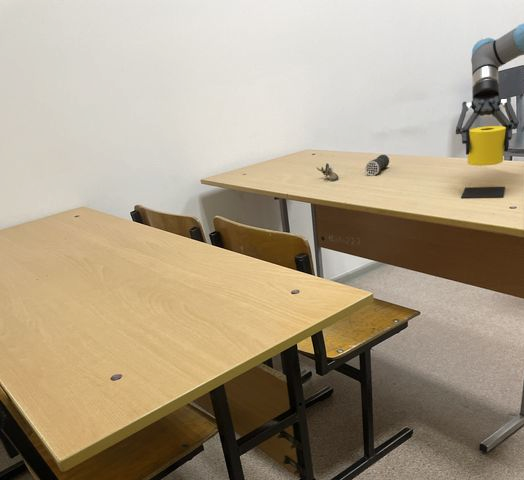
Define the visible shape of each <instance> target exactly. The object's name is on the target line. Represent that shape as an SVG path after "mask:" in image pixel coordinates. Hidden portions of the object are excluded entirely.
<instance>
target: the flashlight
mask: <svg viewBox="0 0 524 480" xmlns="http://www.w3.org/2000/svg"><path fill="white" fill-rule="evenodd" d="M389 164H390V158H389V156H388V155H386V154H380V155H379V156H377V157H376V158H374V159H371V160H370V161H367V163H366V164H365V168H364V170H365V173H366V174H367V175H368V176H369V177H373V176H376V175H377V174H379V173H380V172H381V171H382V170H384V169H386V168H387V167H388V166H389Z"/></svg>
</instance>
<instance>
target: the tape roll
mask: <svg viewBox="0 0 524 480" xmlns="http://www.w3.org/2000/svg"><path fill="white" fill-rule="evenodd" d="M505 131H506V127H503V126H502V125H490V126H489V125H488V126H479V127H474V128H470V129H469V140H470V150H469V154H467V161H466V163H467V165H469V166H476V167H477V166H478V167H481V166H483V167H484V166H493V165H498V164H501V163H503V162H504V152H505V151H504V142H505Z"/></svg>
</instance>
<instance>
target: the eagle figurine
mask: <svg viewBox="0 0 524 480" xmlns="http://www.w3.org/2000/svg"><path fill="white" fill-rule="evenodd" d="M316 169H317V170H318V171H319V172H321V173H322V174H323V179H322V181H325V180H326V179H327V177H328V176H329V181H331V182H336V181H338V180H339V175H338V174H337V173H336V172H334V167H333V165H331V164H330V163H325V168H324V167H323V166H321V167H320V168H319V167H318V166H317V167H316Z"/></svg>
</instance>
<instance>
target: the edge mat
mask: <svg viewBox="0 0 524 480" xmlns="http://www.w3.org/2000/svg"><path fill="white" fill-rule="evenodd" d="M505 191H506V186H473V187H471V186H467V187H464V188H463V192H462V194H461V196H460V199H503V198H504V196H505Z"/></svg>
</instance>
